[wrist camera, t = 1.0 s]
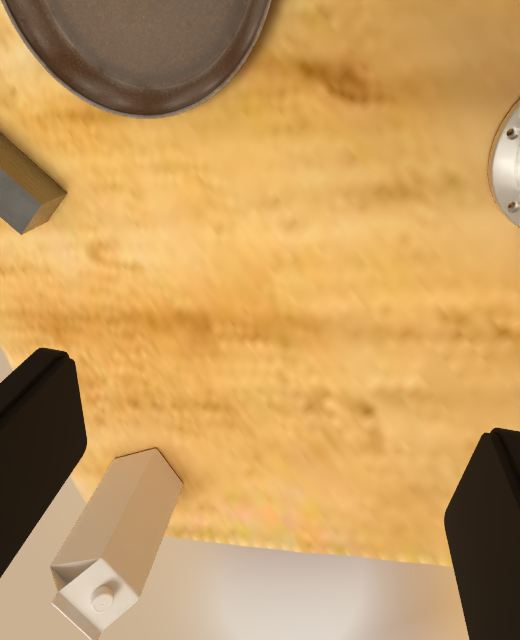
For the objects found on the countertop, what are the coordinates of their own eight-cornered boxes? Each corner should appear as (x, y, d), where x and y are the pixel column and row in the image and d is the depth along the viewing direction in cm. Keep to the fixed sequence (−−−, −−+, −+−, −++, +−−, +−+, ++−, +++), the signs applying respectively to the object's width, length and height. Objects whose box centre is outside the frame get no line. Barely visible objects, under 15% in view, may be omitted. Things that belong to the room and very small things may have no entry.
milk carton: (142, 492, 61) (69, 645, 45) (114, 457, 59) (25, 606, 42) (184, 483, 59) (123, 641, 43) (156, 446, 56) (80, 599, 40)
